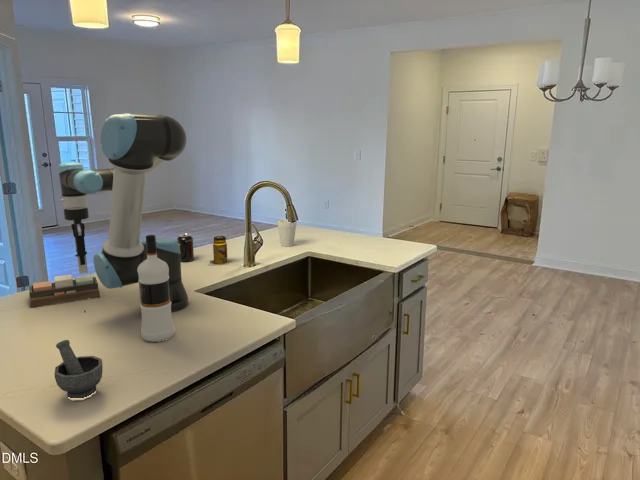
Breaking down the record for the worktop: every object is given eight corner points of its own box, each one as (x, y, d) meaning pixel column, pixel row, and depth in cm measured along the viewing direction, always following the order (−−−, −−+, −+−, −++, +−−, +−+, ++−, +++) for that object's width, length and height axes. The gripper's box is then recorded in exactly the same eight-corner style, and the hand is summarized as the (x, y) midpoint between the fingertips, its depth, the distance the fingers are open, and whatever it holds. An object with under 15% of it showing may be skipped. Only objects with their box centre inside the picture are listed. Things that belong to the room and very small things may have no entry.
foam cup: (274, 246, 240) (274, 221, 237) (283, 242, 248) (282, 218, 245) (291, 248, 236) (291, 223, 233) (299, 244, 244) (299, 220, 241)
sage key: (94, 287, 169) (93, 279, 168) (77, 289, 166) (76, 282, 165) (92, 282, 174) (91, 275, 173) (75, 285, 171) (74, 277, 170)
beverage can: (196, 258, 217) (194, 233, 214) (190, 262, 210) (189, 236, 207) (181, 258, 217) (180, 233, 215) (176, 262, 211) (174, 236, 208)
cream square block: (73, 286, 165) (72, 278, 165) (55, 289, 162) (54, 281, 162) (72, 281, 170) (71, 274, 170) (54, 284, 168) (54, 276, 167)
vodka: (166, 344, 131) (158, 239, 124) (135, 342, 132) (125, 238, 125) (180, 330, 140) (173, 232, 133) (151, 328, 141) (142, 231, 134)
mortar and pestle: (114, 389, 108) (109, 341, 105) (76, 410, 100) (70, 358, 97) (83, 377, 113) (77, 331, 111) (45, 396, 105) (38, 346, 103)
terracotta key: (52, 293, 162) (51, 285, 162) (34, 296, 160) (33, 288, 159) (52, 288, 167) (51, 280, 167) (34, 290, 165) (33, 283, 164)
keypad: (99, 297, 167) (98, 284, 166) (31, 307, 157) (29, 295, 156) (95, 286, 178) (94, 275, 177) (31, 296, 168) (29, 284, 167)
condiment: (228, 264, 208) (226, 238, 205) (208, 265, 206) (207, 238, 204) (228, 260, 215) (227, 234, 212) (209, 260, 214) (208, 235, 211)
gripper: (62, 206, 167) (70, 270, 172) (64, 211, 156) (73, 279, 161) (86, 204, 171) (93, 267, 176) (89, 209, 160) (97, 275, 165)
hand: (83, 272), depth 168 cm, fingers closed
